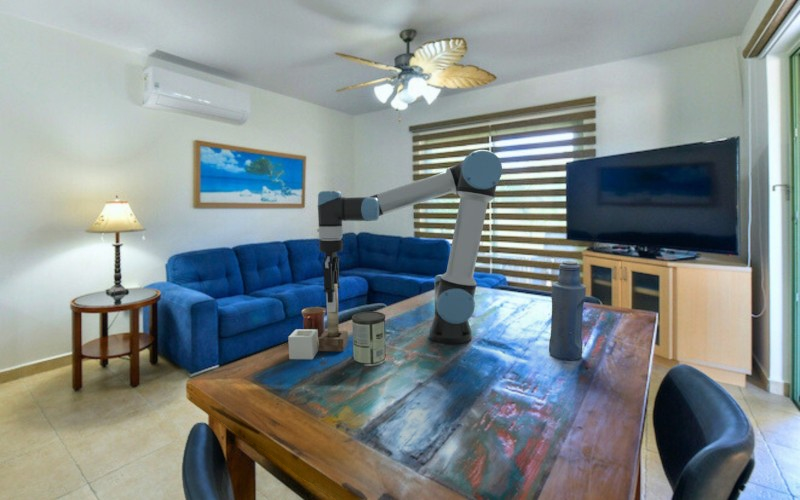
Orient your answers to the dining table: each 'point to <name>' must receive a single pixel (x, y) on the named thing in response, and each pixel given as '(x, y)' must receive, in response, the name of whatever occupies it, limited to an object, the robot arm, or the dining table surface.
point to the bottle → (567, 313)
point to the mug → (314, 319)
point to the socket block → (333, 342)
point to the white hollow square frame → (303, 344)
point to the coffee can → (369, 338)
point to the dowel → (333, 317)
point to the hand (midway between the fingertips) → (332, 309)
